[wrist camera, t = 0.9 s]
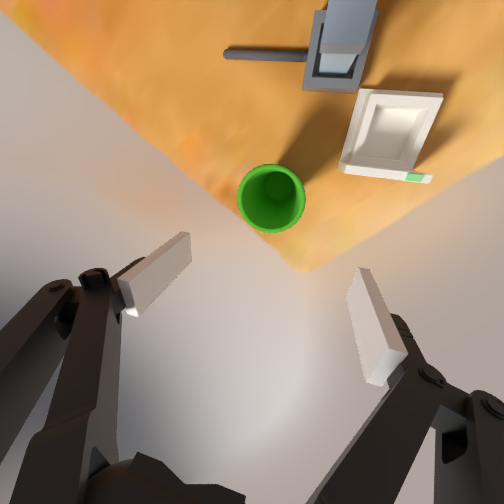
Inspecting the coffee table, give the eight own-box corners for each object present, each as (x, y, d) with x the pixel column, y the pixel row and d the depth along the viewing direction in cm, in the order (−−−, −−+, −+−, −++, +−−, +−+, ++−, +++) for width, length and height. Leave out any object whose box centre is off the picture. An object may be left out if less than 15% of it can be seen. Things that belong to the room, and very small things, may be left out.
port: (359, 89, 28) (374, 72, 21) (441, 94, 26) (485, 77, 20) (337, 167, 33) (344, 173, 26) (405, 176, 31) (431, 184, 24)
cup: (310, 159, 33) (311, 166, 24) (301, 214, 37) (299, 237, 28) (256, 157, 35) (236, 161, 25) (254, 209, 39) (237, 229, 30)
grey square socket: (314, 21, 26) (315, 10, 24) (373, 22, 25) (379, 9, 22) (302, 90, 29) (302, 86, 27) (353, 93, 28) (357, 89, 26)
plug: (324, 36, 26) (332, -22, 17) (356, 37, 25) (383, -23, 16) (316, 76, 28) (320, 43, 19) (346, 77, 27) (365, 44, 18)
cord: (224, 50, 29) (222, 48, 28) (309, 53, 27) (309, 50, 26) (224, 60, 30) (222, 57, 29) (307, 63, 28) (307, 60, 27)
